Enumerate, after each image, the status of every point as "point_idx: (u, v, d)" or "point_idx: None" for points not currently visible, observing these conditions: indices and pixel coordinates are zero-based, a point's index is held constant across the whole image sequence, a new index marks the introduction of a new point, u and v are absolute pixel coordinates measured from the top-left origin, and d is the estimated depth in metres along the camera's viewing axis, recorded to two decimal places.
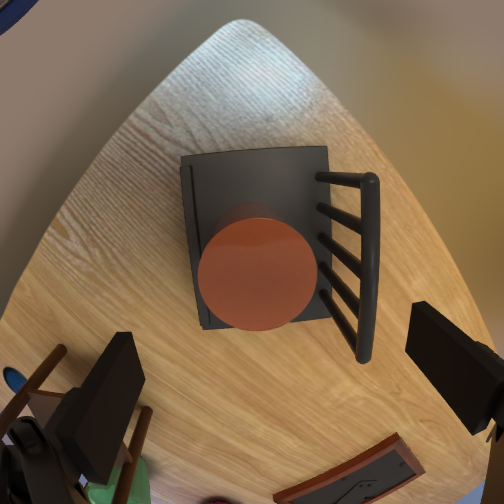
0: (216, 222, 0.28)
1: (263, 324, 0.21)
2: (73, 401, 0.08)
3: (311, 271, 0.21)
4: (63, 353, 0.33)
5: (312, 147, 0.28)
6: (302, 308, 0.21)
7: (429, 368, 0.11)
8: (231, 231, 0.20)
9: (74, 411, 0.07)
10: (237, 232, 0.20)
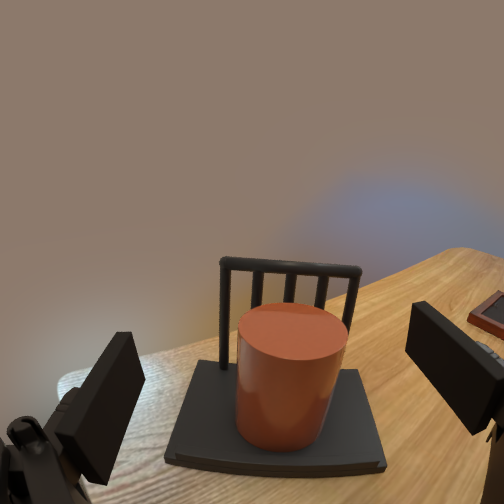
0: (249, 434, 0.22)
1: (340, 328, 0.22)
2: (73, 401, 0.08)
3: (290, 304, 0.25)
4: None
5: (196, 367, 0.32)
6: (323, 310, 0.25)
7: (428, 368, 0.11)
8: (246, 334, 0.21)
9: (74, 411, 0.07)
10: (248, 331, 0.21)
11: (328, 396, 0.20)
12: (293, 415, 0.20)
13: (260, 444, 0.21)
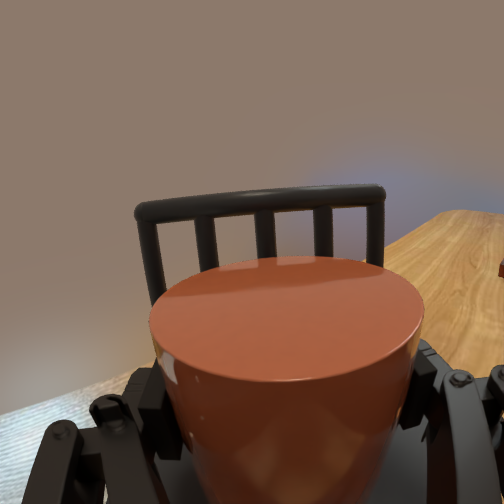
0: None
1: (392, 280, 0.09)
2: (150, 378, 0.09)
3: (270, 260, 0.12)
4: None
5: None
6: (339, 259, 0.12)
7: None
8: (165, 325, 0.08)
9: (154, 386, 0.09)
10: (171, 319, 0.08)
11: (393, 438, 0.08)
12: (324, 499, 0.07)
13: None
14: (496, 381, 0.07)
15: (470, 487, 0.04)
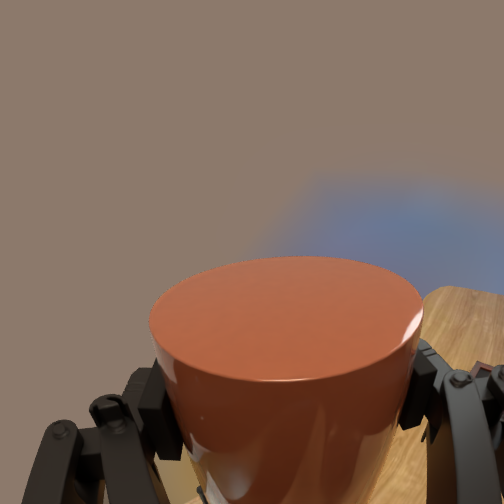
0: None
1: (391, 280, 0.09)
2: (150, 378, 0.09)
3: (270, 260, 0.12)
4: None
5: None
6: (339, 259, 0.12)
7: None
8: (165, 325, 0.08)
9: (154, 386, 0.09)
10: (171, 319, 0.08)
11: (392, 437, 0.08)
12: (324, 499, 0.07)
13: None
14: (496, 381, 0.07)
15: (470, 487, 0.04)
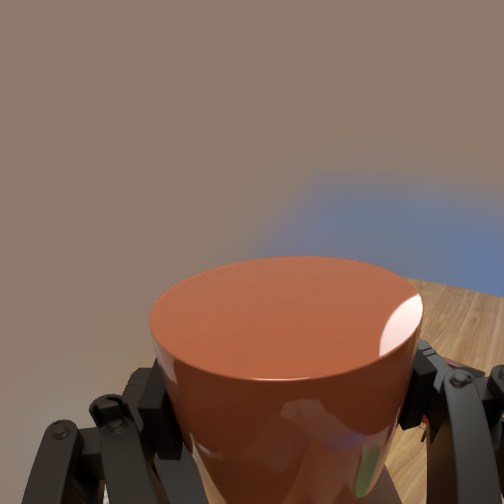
0: None
1: (391, 279, 0.09)
2: (150, 378, 0.09)
3: (269, 259, 0.12)
4: None
5: None
6: (339, 259, 0.12)
7: None
8: (165, 325, 0.08)
9: (154, 386, 0.09)
10: (171, 319, 0.08)
11: (392, 437, 0.08)
12: (324, 499, 0.07)
13: None
14: (496, 381, 0.07)
15: (470, 487, 0.04)
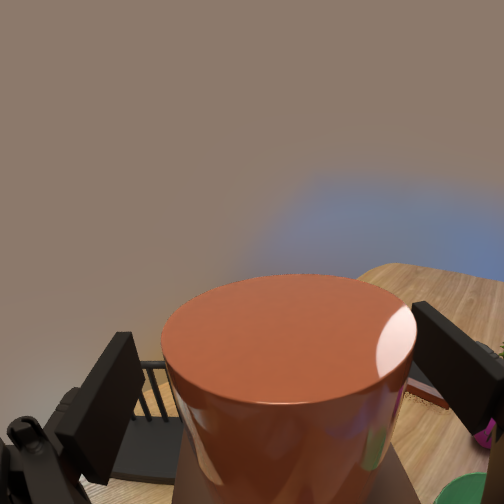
0: None
1: (388, 301, 0.10)
2: (73, 401, 0.08)
3: (273, 278, 0.13)
4: None
5: None
6: (339, 277, 0.12)
7: (429, 368, 0.11)
8: (177, 348, 0.08)
9: (74, 411, 0.07)
10: (182, 342, 0.08)
11: (387, 447, 0.08)
12: (323, 503, 0.07)
13: None
14: None
15: None
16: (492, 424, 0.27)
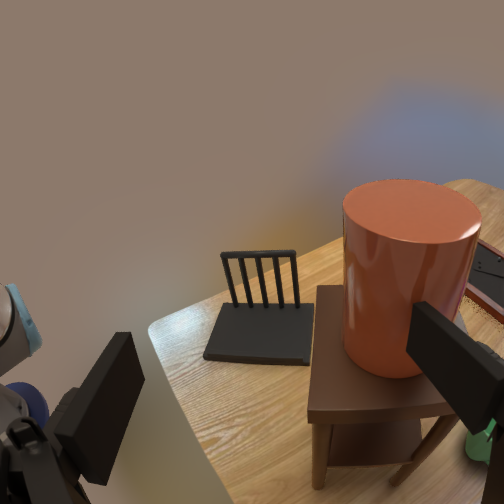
0: (364, 358, 0.18)
1: (467, 203, 0.14)
2: (72, 401, 0.08)
3: (398, 180, 0.18)
4: None
5: (222, 307, 0.61)
6: (438, 185, 0.17)
7: (429, 368, 0.11)
8: (358, 216, 0.15)
9: (73, 411, 0.07)
10: (359, 213, 0.15)
11: (462, 296, 0.14)
12: None
13: (378, 370, 0.17)
14: None
15: None
16: None
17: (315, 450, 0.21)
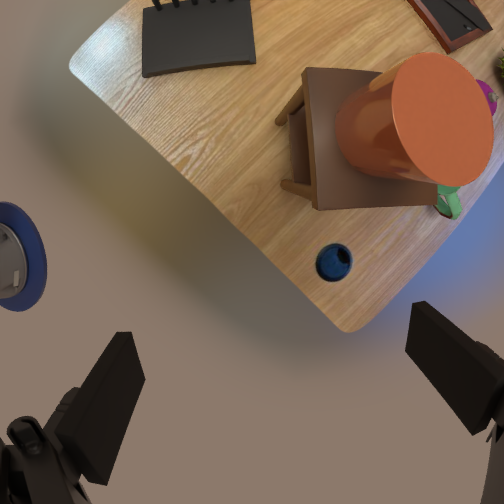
0: (357, 165, 0.23)
1: (488, 125, 0.13)
2: (73, 401, 0.08)
3: (442, 59, 0.12)
4: (286, 179, 0.46)
5: (143, 14, 0.38)
6: (474, 80, 0.13)
7: (429, 368, 0.11)
8: (404, 133, 0.14)
9: (74, 411, 0.07)
10: (406, 127, 0.14)
11: None
12: None
13: (366, 173, 0.23)
14: None
15: None
16: None
17: (303, 196, 0.33)
